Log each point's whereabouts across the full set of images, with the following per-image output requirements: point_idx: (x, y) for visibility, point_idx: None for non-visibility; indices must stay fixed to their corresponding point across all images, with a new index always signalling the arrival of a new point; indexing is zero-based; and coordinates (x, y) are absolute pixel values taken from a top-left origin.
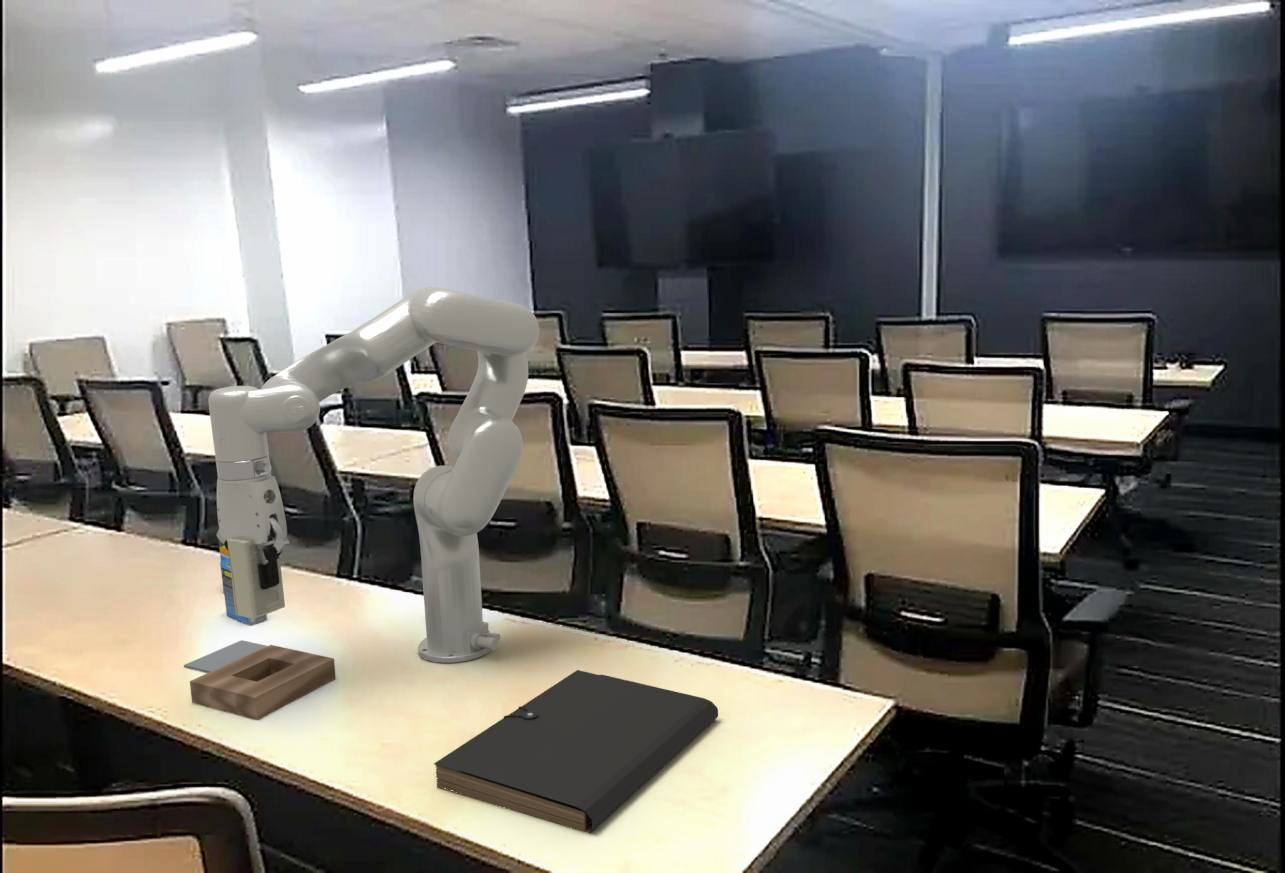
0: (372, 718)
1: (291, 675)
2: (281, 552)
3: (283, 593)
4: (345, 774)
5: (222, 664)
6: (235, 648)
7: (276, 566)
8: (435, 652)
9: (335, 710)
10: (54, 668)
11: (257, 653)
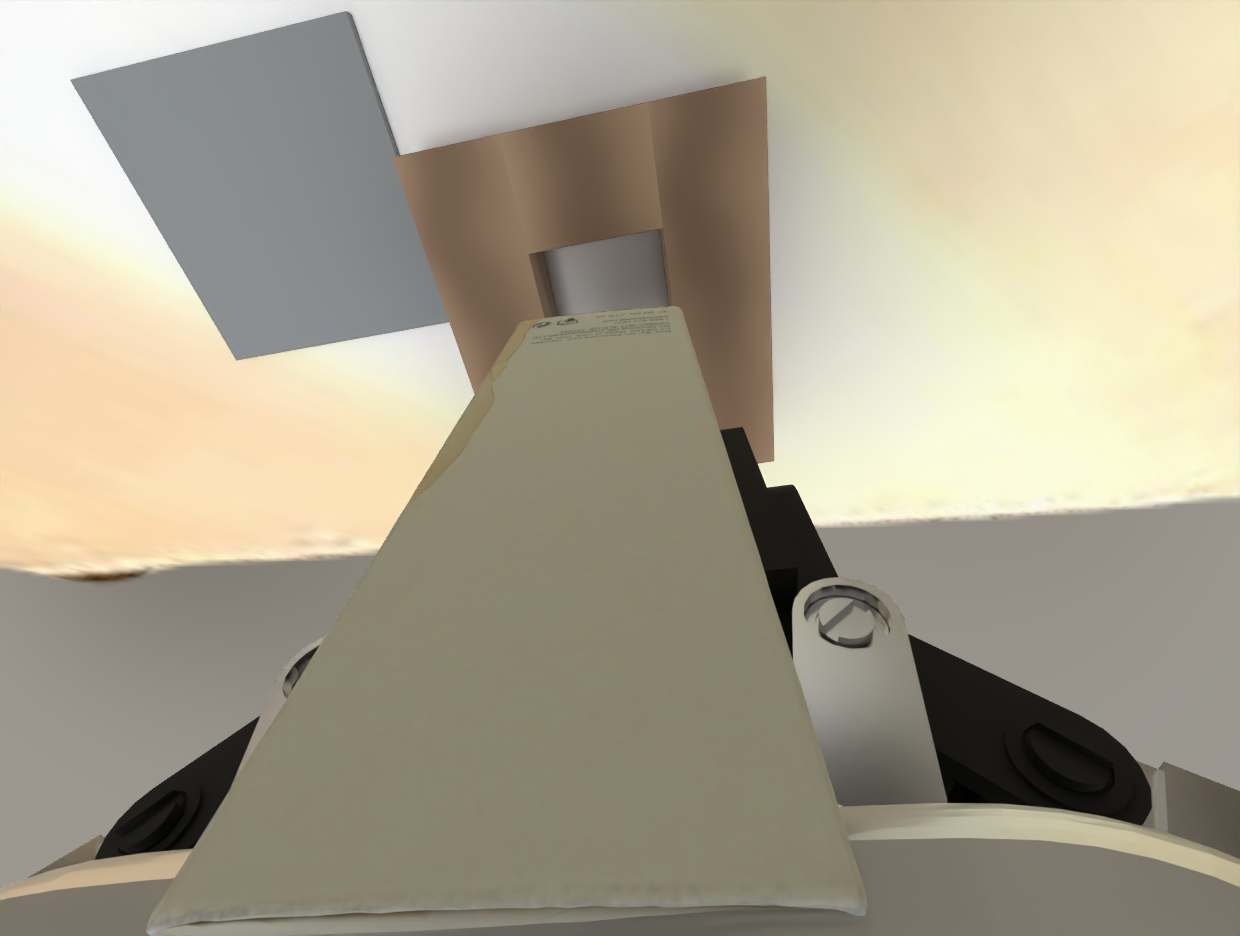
0: (1084, 235)
1: (743, 305)
2: (1048, 705)
3: (689, 335)
4: (1163, 467)
5: (313, 285)
6: (167, 159)
7: (828, 560)
8: None
9: (927, 269)
10: (47, 541)
11: (448, 254)
